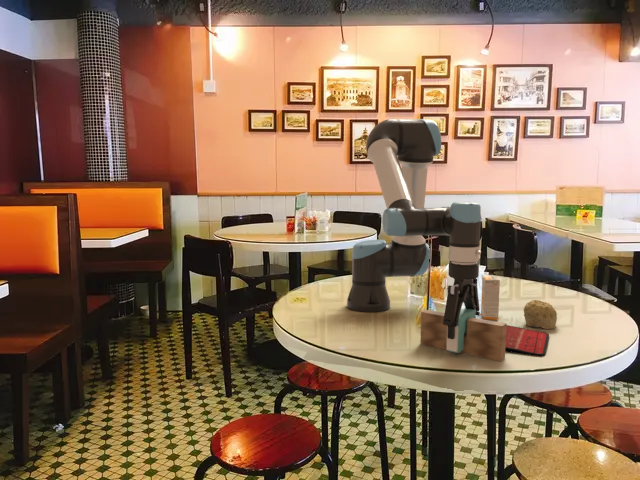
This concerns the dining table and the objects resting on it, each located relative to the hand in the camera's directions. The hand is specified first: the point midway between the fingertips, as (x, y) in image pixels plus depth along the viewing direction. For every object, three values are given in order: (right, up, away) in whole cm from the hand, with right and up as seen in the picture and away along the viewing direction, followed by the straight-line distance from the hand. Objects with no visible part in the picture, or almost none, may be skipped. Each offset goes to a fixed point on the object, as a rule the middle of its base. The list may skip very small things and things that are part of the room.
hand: (461, 344), depth 135 cm
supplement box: (+18, +2, +33) cm, 38 cm away
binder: (+18, -1, +8) cm, 19 cm away
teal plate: (0, -1, 0) cm, 1 cm away
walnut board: (0, -2, 0) cm, 2 cm away
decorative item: (+31, +1, +23) cm, 38 cm away
